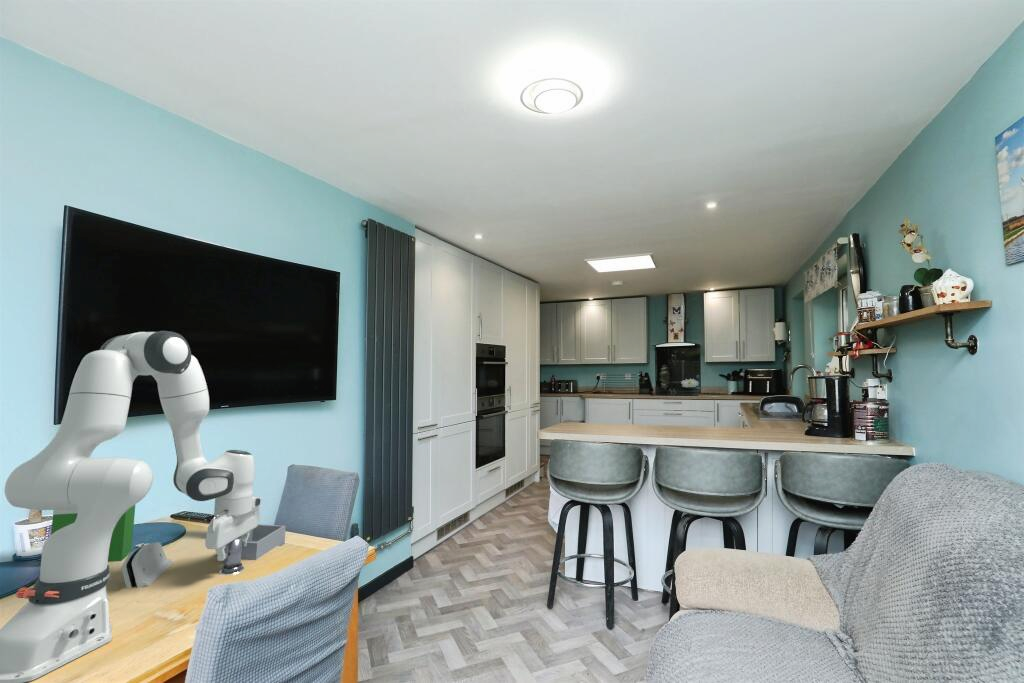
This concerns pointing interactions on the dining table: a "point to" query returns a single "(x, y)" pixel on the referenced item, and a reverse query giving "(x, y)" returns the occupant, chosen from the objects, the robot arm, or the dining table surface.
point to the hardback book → (120, 535)
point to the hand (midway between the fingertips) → (232, 553)
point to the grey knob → (233, 557)
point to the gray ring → (232, 573)
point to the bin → (263, 541)
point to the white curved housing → (145, 565)
